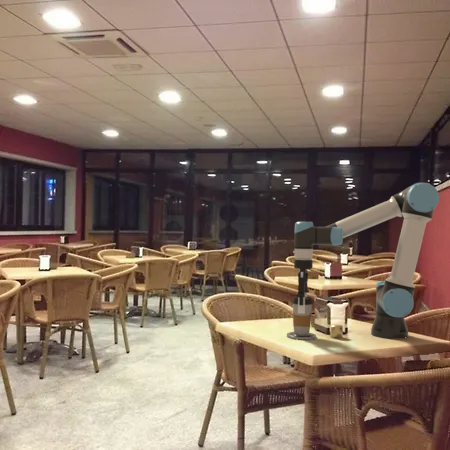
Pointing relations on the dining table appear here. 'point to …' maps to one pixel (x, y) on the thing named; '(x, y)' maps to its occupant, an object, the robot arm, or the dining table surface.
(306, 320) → the coffee cup
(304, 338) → the flange plate
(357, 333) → the dining table surface
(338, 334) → the brass coupling
